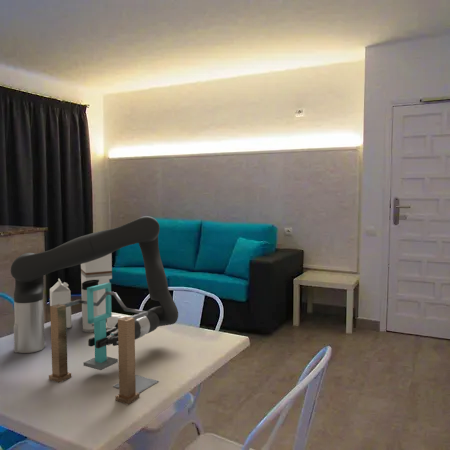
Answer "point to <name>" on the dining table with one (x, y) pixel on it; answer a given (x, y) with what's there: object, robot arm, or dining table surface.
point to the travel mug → (85, 285)
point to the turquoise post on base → (99, 328)
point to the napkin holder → (113, 320)
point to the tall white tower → (98, 275)
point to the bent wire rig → (124, 347)
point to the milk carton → (61, 298)
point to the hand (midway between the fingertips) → (93, 344)
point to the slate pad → (141, 383)
